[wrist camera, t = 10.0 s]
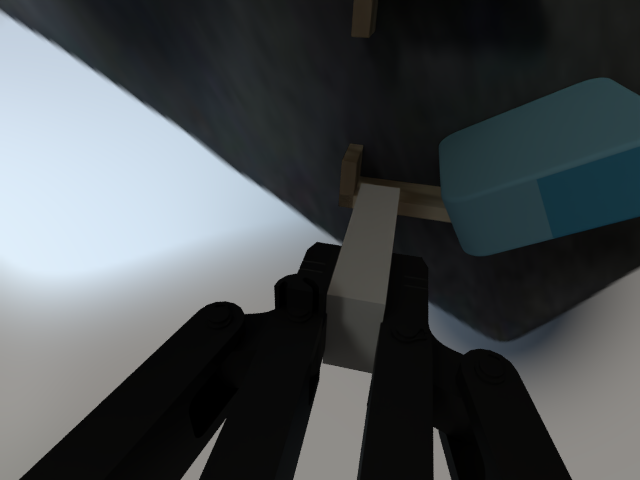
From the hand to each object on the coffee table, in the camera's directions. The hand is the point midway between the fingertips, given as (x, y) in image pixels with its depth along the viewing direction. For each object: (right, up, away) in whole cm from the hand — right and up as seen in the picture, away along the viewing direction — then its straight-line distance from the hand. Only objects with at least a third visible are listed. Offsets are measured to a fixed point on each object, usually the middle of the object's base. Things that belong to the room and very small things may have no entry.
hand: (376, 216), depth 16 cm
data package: (+14, +8, +16) cm, 23 cm away
